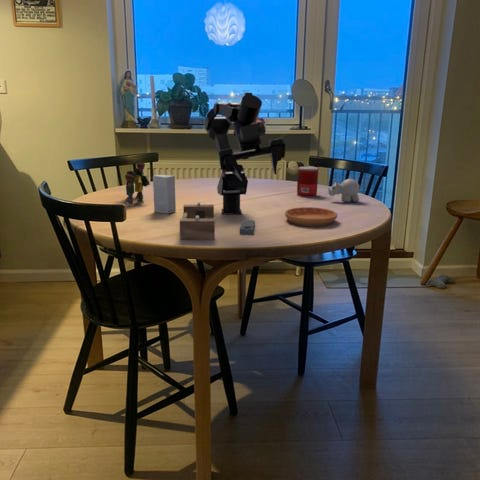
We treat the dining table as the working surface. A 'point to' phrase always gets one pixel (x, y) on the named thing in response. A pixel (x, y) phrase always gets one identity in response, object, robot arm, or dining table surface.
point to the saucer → (311, 216)
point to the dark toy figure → (136, 184)
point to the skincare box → (164, 194)
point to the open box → (197, 222)
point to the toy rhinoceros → (346, 190)
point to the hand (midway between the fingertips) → (259, 176)
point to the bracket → (247, 227)
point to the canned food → (307, 181)
